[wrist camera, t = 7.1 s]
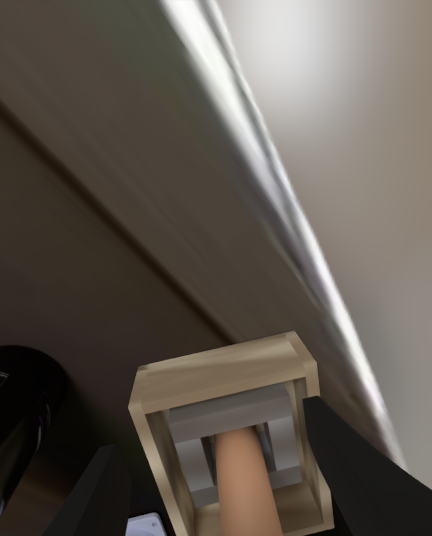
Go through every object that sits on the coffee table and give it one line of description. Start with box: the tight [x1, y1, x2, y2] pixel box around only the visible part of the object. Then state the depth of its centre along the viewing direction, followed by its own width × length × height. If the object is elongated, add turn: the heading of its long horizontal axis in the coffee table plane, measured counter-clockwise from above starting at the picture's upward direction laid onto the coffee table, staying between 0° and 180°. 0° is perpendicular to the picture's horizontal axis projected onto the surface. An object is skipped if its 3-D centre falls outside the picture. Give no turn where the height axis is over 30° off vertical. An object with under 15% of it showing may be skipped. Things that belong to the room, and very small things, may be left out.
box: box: [128, 331, 334, 536], centre depth 23 cm, size 16×12×4 cm
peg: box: [214, 425, 283, 536], centre depth 19 cm, size 3×3×9 cm
